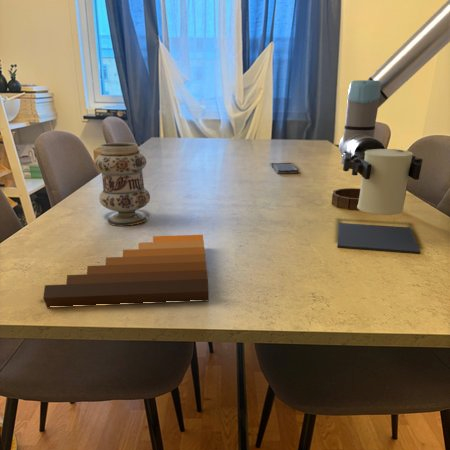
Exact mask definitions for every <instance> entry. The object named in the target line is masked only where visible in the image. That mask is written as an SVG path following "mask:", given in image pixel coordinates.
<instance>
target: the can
mask: <svg viewBox="0 0 450 450" xmlns="http://www.w3.org/2000/svg"><path fill="white" fill-rule="evenodd" d="M412 156H414V153H413V152H411V151H409V150H403V149H396V148H385V149H372V150H367V151H365V159H364V160H365V161H366V162H368V163H370V164H371V165H372V166H371V173H370V179H365V178H364V177H363V176H361V181H360V182H361V183H360V188H359V189H360V196H359V202H358V205H357V208H358V209H359V210H358V211H361V212H363V213H365V214H370V215H378V216H392V215H393V216H394V215H398V214H401V213H403V211H404V206H403V202H404V203H405V200H404V197H405V198H406V195H405V191H406V192H407V190H406V186H407V180H408V181H409V176H408V175H409V170H410V165H411V160H412Z"/></svg>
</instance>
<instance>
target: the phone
mask: <svg viewBox="0 0 450 450" xmlns="http://www.w3.org/2000/svg"><path fill="white" fill-rule="evenodd" d="M271 168H272V169H273V170H274V171H275V173H276V174H280V175H281V174H283V175H284V174H285V175H286V174H299V168H297V167H296V166H295V165H294V164H293V163H291V162H273V163H271Z"/></svg>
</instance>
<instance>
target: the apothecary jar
mask: <svg viewBox="0 0 450 450" xmlns="http://www.w3.org/2000/svg"><path fill="white" fill-rule="evenodd" d="M94 165H95V168H96V169H97V170H98V171H100V172H101V178H102V179H101V180H102V191H101V192H100V194H99V198H98V200H99V203H100V205H101V206H102V207H104V208H106V209H108V210H110V211H113V212H117V213H114V214H113V215H111V216H110V217H108V219H107V223H108V222H109V223H110V224H109V223H108V224H109V225H111V224H114V225H113V226H115V225H131V226H134V225H133V224H137V225H140V224H139V223H141V224H143V223H142V222H144V223H145V222H147V221H148V215H146V214H145V213H141V212H138V211H137V210H140V209H142V208H144V207H145V206H147V205H148V204H149V203H150V200H151V194H150V191H148V189H147V188H145V183H144V175H143V170H144V168H145V167H146V165H147V158H146V156H145V155H144V154H143V153H141V152H140V148H139V145H138V144H137V143H136V142H109V143H102V144H100V151H99V154H98V155H97V156H96V157H95V160H94ZM146 220H147V221H146Z"/></svg>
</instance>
